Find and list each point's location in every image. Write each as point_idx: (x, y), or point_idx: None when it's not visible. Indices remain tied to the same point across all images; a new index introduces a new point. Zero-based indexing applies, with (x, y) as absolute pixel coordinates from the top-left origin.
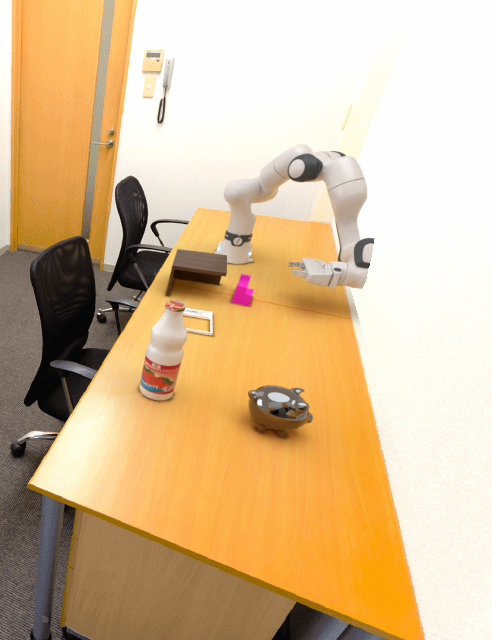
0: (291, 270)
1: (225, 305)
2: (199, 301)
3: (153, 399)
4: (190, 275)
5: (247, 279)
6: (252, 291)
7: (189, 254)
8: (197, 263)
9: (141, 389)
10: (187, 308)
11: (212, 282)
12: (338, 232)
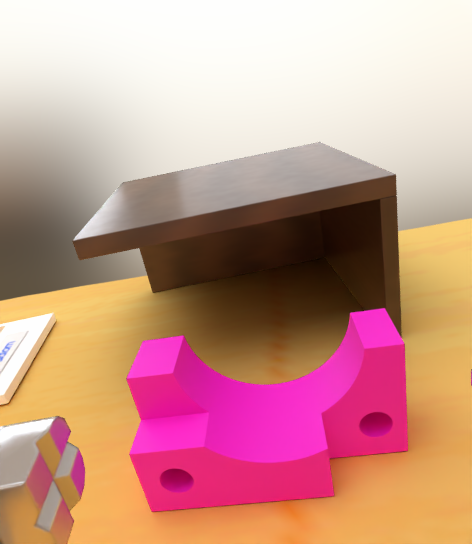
0: (70, 430)
1: (126, 418)
2: (139, 347)
3: None
4: (339, 258)
5: (356, 358)
6: (299, 454)
7: (277, 159)
8: (174, 187)
9: None
10: (34, 339)
11: None
12: None
